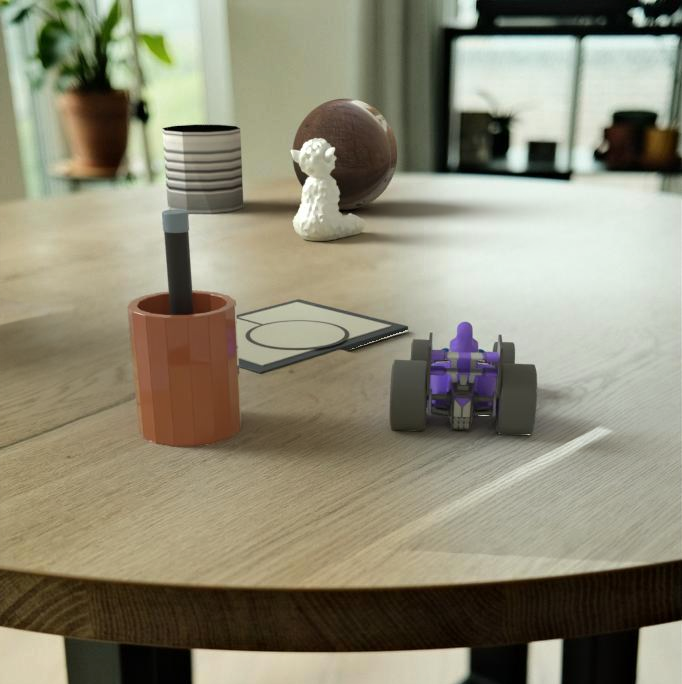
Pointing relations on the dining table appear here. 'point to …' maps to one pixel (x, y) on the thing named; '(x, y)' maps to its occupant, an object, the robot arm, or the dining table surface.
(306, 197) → the white creature statuette
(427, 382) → the toy race car
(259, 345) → the white flat board
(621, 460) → the dining table surface
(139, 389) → the cup
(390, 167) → the wooden sphere
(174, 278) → the pen
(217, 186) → the can
